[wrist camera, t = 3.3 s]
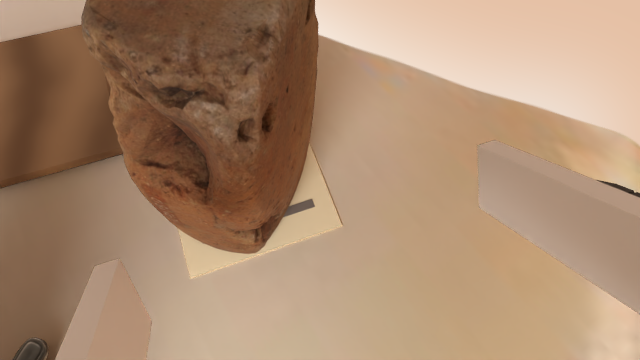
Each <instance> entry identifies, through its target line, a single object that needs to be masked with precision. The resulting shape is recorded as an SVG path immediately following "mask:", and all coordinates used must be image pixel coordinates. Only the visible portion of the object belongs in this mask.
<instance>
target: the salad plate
mask: <svg viewBox="0 0 640 360" xmlns="http://www.w3.org/2000/svg"><path fill="white" fill-rule="evenodd" d="M48 350H49V347H48V345H47V343H46V342H45V341H44V340H42V339H39V338H31V339H28V340H27V341H26V342H25V343H24V344H23V345H22V346H21V348H20V349H19V350H18V352H17V353H16V355H15V357H14V358H13V360H46V359H47V357H48Z"/></svg>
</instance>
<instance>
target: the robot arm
mask: <svg viewBox="0 0 640 360" xmlns="http://www.w3.org/2000/svg"><path fill="white" fill-rule="evenodd" d="M477 154H478V188H479V208H480V209H482V210H483V211H485V212H486V213H488V214H489V215H491V216H492V217H494V218H495V219H497V220H498V221H500V222H501V223H503V224H504V225H506V226H507V227H509V228H510V229H512V230H513V231H515V232H516V233H518V234H519V235H521V236H522V237H524V238H525V239H527V240H528V241H530V242H531V243H533V244H534V245H536V246H537V247H539V248H540V249H542V250H543V251H545V252H546V253H548V254H549V255H551V256H552V257H554V258H556V259H557V260H559V261H560V262H562V263H563V264H565V265H566V266H568V267H569V268H571V269H572V270H574V271H575V272H577V273H578V274H580V275H581V276H583V277H584V278H586V279H587V280H589V281H590V282H592V283H593V284H595V285H596V286H598V287H599V288H601V289H602V290H604V291H605V292H607V293H608V294H610V295H611V296H613V297H614V298H616V299H617V300H619V301H620V302H622V303H623V304H625V305H626V306H628V307H629V308H631V309H632V310H634V311H635V312H637V313H638V314H640V193H638V192H636V193H634V191H633V190H630V189H628V188H625V187H623V186H620V185H618V184H614V183H609V182H604V181H599V180H594V179H592V178H589V177H587V176H584V175H582V174H579V173H577V172H574V171H572V170H569V169H567V168H564V167H562V166H559V165H557V164H554V163H552V162H549V161H547V160H544V159H542V158H539V157H536V156H534V155H531V154H529V153H526V152H524V151H521V150H519V149H516V148H514V147H511V146H509V145H506V144H504V143H501V142H499V141H496V140H493V141H489V142H486V143H483V144H480V145H477ZM151 324H152V321H151V319H150V317H149V315H148V313H147V311H146V309H145V307H144V305H143V303H142V301H141V299H140V297H139V295H138V293H137V291H136V289H135V287H134V285H133V283H132V281H131V279H130V277H129V275H128V273H127V271H126V270H125V268H124V266H123V264H122V262H121V260H120V258H118V259H115V260H111V261H108V262H105V263H102V264H99V265H96V266H94V268H93V271H92V273H91V276H90V278H89V280H88V283H87V285H86V287H85V290H84V292H83V295H82V297H81V299H80V302H79V304H78V306H77V309H76V311H75V313H74V316H73V318H72V321H71V323H70V325H69V328H68V330H67V332H66V335H65V337H64V340H63V342H62V344H61V347H60V349H59V351H58V354H57V356H56V359H55V360H146V357H147V350H148V343H149V337H150V330H151Z"/></svg>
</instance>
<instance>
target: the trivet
mask: <svg viewBox="0 0 640 360" xmlns="http://www.w3.org/2000/svg"><path fill="white" fill-rule="evenodd" d="M110 88H111V87H110V85H109V82H108V80H107V78H106V76H105V73H104V71H103V69H102V66H101V64H100V62H99V61H98V60H96V59H95V58H94V57H93V56H92V55H90V52H89V49H88V46H87V44H86V42H85V40H84V39H83V34H82V25H79V26H74V27H69V28H65V29H60V30H56V31H51V32H46V33H42V34H37V35H33V36H28V37H23V38H19V39H14V40H9V41H5V42H0V188H2V187H6V186H9V185H13V184H17V183H20V182H24V181H27V180H31V179H34V178H38V177H42V176H45V175H49V174H52V173H56V172H59V171H63V170H66V169H70V168H74V167H77V166H81V165H84V164H88V163H91V162H95V161H99V160H102V159H106V158H109V157H113V156H116V155H120V154H123V151H122V149H121V146H120V144H119V142H118V134H117V132H116V130H115V127H114V125H113V120H114V116H113V114H112V112H111V111H110V108H109V104H108V100H109V97H110Z"/></svg>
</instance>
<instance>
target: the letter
mask: <svg viewBox="0 0 640 360" xmlns="http://www.w3.org/2000/svg"><path fill="white" fill-rule="evenodd" d="M341 226H342V224H341V221H340V219H339V216H338V213H337V211H336V208H335V206H334V203H333V201H332V198H331V196H330V193H329V191H328V188H327V186H326V183H325V181H324V178H323V176H322V173H321V170H320V168H319V165H318V163H317V160H316V158H315V155H314V153H313V150H312V148H311V145H310V143H309V146H308V151H307V156H306V160H305V164H304V168H303V172H302V175H301V178H300V181H299V183H298V186H297V189H296V192H295V194H294V196H293V199H292V201H291V203H290V205H289V207H288V209H287V210H286V212H285V214H284V216H283V218H282V220H281V221H280V223H279V225H278V226H277V228H276V229H275V231H274V232H273V234H272V235H271V237H270V238H269V239H268V240H267V242H266V244H265V246H264V247H263V248H262V249H261V250H259V251H258V252H257V253H252V254H242V253H234V252H228V251H224V250H220V249H216V248H214V247H211V246H209V245H206V244H204V243H202V242H200V241H198V240H196V239H194V238H192V237H190V236H189V235H187V234H185V233H184V232H182V231H181V230H180V229H178V232H179V236H180V240H181V244H182V248H183V252H184V256H185V260H186V264H187V267H188V271H189V275H190V279H192V278H194V277H197V276H200V275H203V274H206V273H209V272H212V271H215V270H217V269H220V268H223V267H226V266H229V265H232V264H235V263H237V262H240V261H243V260H246V259H249V258H252V257H255V256H258V255H260V254H263V253H266V252H269V251H272V250H275V249H278V248H281V247H283V246H286V245H289V244H292V243H295V242H298V241H301V240H303V239H306V238H309V237H312V236H315V235H318V234H321V233H324V232H326V231H329V230H332V229H335V228H338V227H341Z"/></svg>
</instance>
